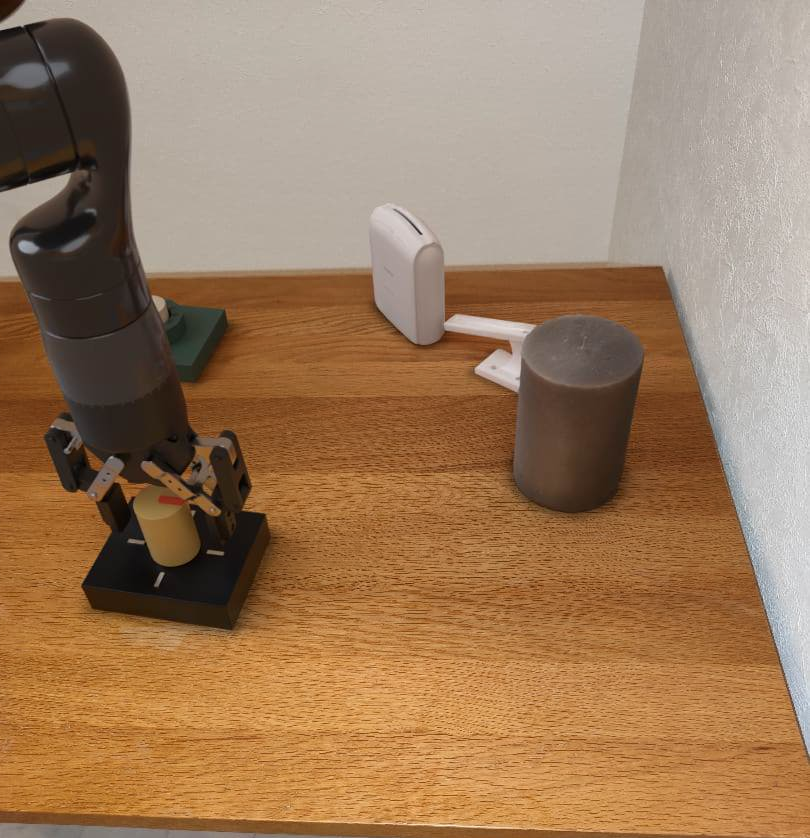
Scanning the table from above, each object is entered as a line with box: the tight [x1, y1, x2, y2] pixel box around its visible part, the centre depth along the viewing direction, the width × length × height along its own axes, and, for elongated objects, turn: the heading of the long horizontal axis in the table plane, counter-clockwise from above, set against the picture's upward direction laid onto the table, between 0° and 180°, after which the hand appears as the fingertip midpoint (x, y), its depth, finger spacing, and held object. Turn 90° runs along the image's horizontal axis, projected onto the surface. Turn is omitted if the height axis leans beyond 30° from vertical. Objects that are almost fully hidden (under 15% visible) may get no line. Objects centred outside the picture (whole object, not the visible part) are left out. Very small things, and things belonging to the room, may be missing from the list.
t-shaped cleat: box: [444, 313, 537, 394], centre depth 87 cm, size 4×20×5 cm, turn 51°
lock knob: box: [133, 484, 201, 567], centre depth 70 cm, size 4×4×6 cm
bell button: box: [152, 295, 169, 324], centre depth 92 cm, size 4×4×2 cm
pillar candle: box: [512, 313, 645, 513], centre depth 75 cm, size 10×10×15 cm
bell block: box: [163, 298, 229, 384], centre depth 94 cm, size 12×10×4 cm
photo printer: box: [368, 202, 446, 346], centre depth 92 cm, size 10×4×12 cm, turn 30°
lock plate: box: [80, 496, 271, 631], centre depth 73 cm, size 12×10×3 cm
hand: (172, 531), depth 71 cm, fingers open, 8 cm apart
